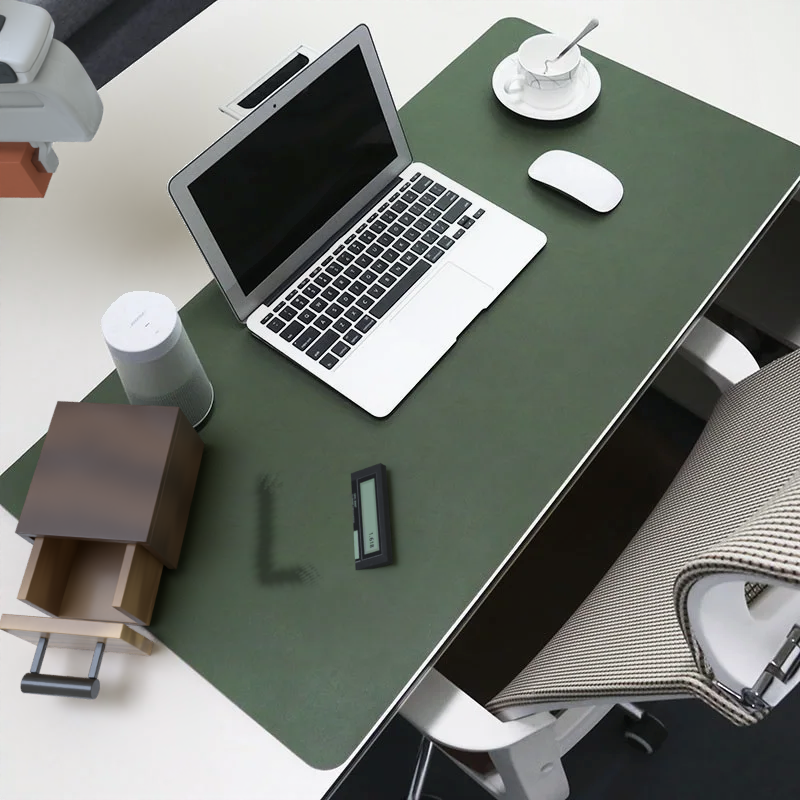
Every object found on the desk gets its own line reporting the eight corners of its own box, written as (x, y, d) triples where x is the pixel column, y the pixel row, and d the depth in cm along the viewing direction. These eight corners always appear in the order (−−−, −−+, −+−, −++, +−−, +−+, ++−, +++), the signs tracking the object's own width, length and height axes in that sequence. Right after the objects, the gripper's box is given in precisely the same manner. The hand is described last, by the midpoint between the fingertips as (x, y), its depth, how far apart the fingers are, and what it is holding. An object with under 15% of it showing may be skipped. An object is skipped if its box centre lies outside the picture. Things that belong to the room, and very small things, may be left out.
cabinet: (180, 573, 77) (146, 541, 69) (62, 564, 78) (14, 532, 70) (208, 448, 83) (179, 406, 75) (97, 442, 84) (57, 400, 76)
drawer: (139, 710, 71) (105, 696, 64) (24, 699, 72) (-21, 684, 65) (180, 530, 78) (153, 502, 71) (75, 523, 79) (39, 495, 73)
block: (-2, 197, 77) (-29, 162, 73) (12, 161, 79) (-13, 125, 75) (44, 198, 76) (20, 162, 72) (57, 161, 78) (35, 124, 74)
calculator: (267, 487, 80) (260, 475, 78) (388, 475, 80) (385, 462, 77) (267, 583, 76) (260, 573, 73) (395, 570, 75) (392, 560, 73)
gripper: (-209, 68, 64) (-98, 193, 76) (44, 65, 61) (116, 194, 73) (-175, 13, 67) (-74, 142, 79) (67, 8, 64) (133, 141, 76)
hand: (20, 167), depth 76 cm, fingers closed on block, 4 cm apart
